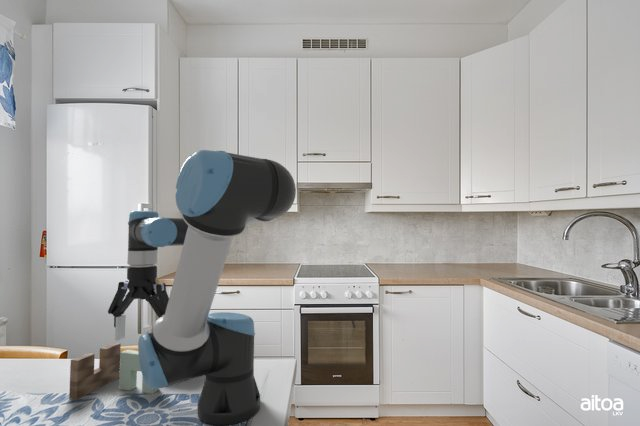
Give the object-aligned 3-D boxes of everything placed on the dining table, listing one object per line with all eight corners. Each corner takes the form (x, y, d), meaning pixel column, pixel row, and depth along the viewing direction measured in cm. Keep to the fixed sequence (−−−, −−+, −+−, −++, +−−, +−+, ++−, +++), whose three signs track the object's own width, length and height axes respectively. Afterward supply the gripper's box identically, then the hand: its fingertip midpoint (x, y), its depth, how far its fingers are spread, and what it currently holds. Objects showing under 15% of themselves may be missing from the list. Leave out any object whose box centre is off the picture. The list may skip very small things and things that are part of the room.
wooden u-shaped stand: (112, 376, 104) (114, 342, 105) (119, 377, 104) (120, 343, 104) (69, 398, 91) (70, 359, 91) (76, 399, 90) (77, 360, 91)
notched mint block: (159, 389, 96) (160, 353, 96) (153, 393, 94) (154, 356, 94) (126, 385, 99) (127, 349, 99) (119, 388, 96) (120, 352, 97)
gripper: (189, 265, 98) (187, 341, 98) (116, 262, 104) (114, 333, 104) (172, 268, 91) (169, 350, 90) (95, 265, 97) (92, 341, 96)
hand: (140, 341), depth 97 cm, fingers open, 13 cm apart
